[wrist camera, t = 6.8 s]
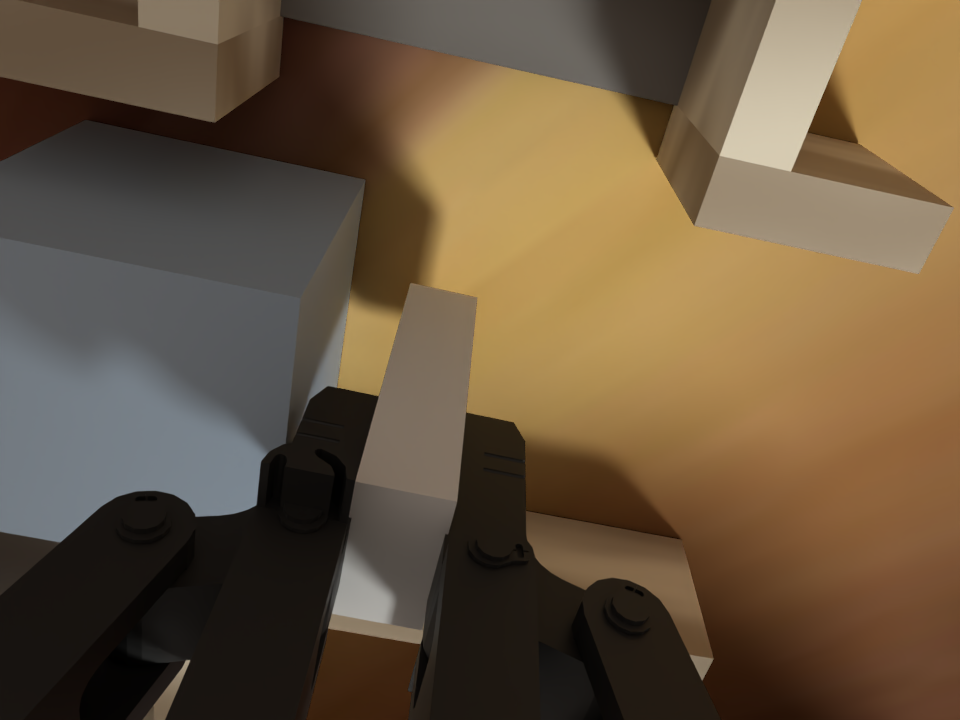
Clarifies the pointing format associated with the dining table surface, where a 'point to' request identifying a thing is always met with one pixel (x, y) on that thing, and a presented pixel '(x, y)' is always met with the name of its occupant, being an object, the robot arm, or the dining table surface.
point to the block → (160, 319)
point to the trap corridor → (563, 55)
